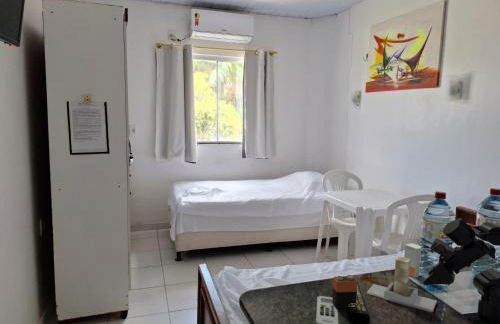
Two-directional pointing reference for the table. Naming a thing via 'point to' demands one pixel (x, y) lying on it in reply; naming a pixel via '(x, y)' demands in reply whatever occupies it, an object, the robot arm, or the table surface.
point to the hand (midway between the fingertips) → (426, 279)
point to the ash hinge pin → (402, 275)
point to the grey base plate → (403, 297)
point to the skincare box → (413, 258)
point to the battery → (344, 291)
